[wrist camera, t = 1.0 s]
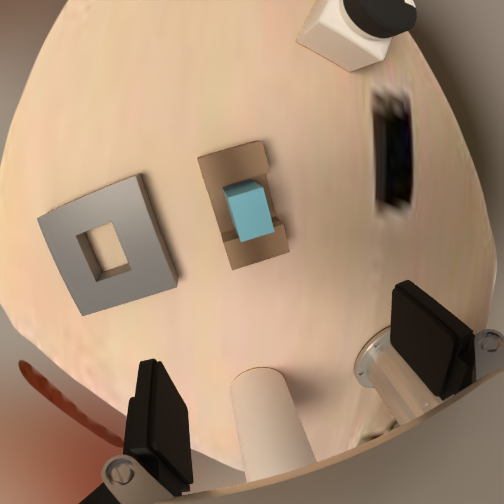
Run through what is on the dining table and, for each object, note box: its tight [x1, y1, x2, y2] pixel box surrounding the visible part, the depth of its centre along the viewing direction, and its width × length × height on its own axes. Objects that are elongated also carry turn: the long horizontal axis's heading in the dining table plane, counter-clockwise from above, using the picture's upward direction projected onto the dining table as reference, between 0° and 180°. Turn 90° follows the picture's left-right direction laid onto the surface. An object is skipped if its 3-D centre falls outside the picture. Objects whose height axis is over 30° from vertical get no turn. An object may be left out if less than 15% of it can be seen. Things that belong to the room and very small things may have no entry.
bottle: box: [230, 368, 317, 482], centre depth 27 cm, size 8×8×30 cm
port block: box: [37, 173, 178, 316], centre depth 29 cm, size 12×12×2 cm
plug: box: [222, 179, 275, 242], centre depth 28 cm, size 3×4×6 cm
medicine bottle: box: [296, 0, 416, 72], centre depth 21 cm, size 7×7×12 cm
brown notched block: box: [198, 141, 290, 270], centre depth 30 cm, size 6×11×4 cm, turn 15°
